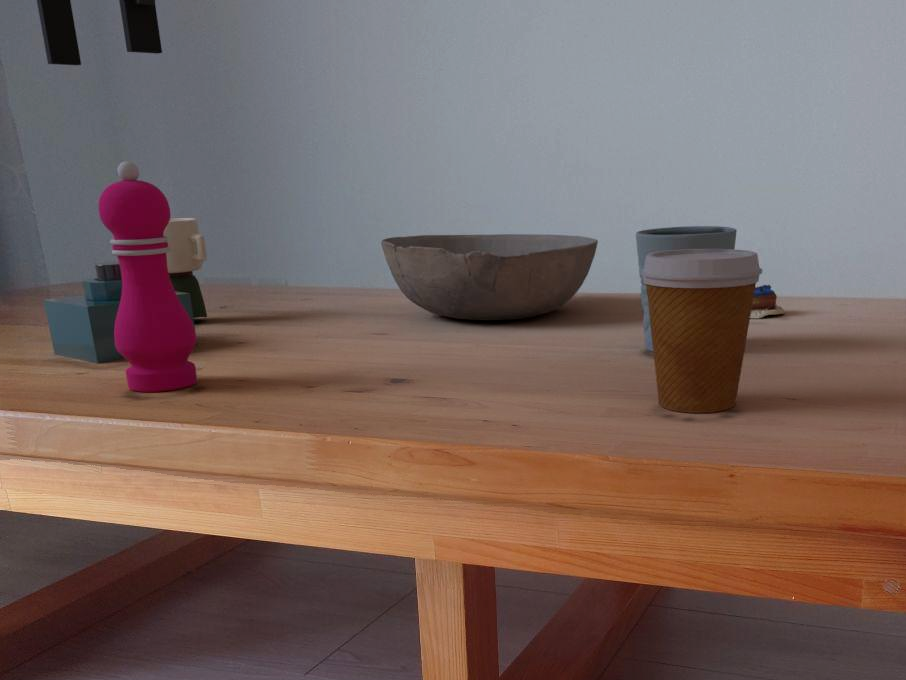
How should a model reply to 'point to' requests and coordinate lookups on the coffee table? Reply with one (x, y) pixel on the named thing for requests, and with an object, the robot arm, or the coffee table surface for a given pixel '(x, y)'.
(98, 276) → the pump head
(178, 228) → the character mug
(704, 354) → the disposable coffee cup
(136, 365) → the pepper mill
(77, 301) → the blue-grey boxy piece
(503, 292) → the bowl
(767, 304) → the dessert
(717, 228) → the grey cup
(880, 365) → the coffee table surface
